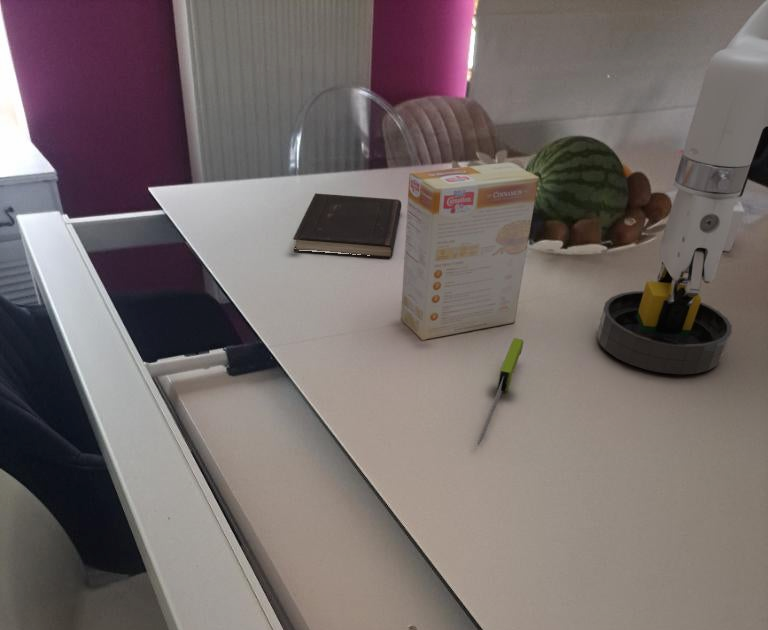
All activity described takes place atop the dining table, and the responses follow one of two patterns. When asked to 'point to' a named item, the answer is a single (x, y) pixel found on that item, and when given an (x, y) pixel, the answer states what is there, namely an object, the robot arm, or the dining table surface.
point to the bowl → (662, 338)
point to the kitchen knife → (504, 377)
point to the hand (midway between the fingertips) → (664, 321)
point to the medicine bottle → (735, 221)
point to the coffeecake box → (465, 247)
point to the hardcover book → (349, 226)
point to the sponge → (653, 305)
